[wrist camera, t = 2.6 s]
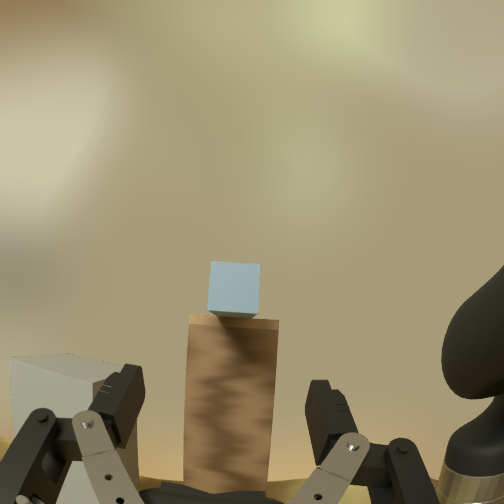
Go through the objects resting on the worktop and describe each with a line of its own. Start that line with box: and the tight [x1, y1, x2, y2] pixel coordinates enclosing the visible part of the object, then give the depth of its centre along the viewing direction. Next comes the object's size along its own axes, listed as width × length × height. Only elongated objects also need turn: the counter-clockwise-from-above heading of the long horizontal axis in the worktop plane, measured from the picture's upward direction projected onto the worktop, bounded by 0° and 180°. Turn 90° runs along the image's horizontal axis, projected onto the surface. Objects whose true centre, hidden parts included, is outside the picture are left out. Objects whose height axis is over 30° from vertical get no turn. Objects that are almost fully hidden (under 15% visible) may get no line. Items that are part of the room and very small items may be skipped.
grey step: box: [9, 353, 140, 504], centre depth 22 cm, size 10×12×25 cm
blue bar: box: [207, 261, 260, 319], centre depth 33 cm, size 4×24×4 cm, turn 3°
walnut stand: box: [184, 314, 279, 496], centre depth 31 cm, size 9×10×32 cm
